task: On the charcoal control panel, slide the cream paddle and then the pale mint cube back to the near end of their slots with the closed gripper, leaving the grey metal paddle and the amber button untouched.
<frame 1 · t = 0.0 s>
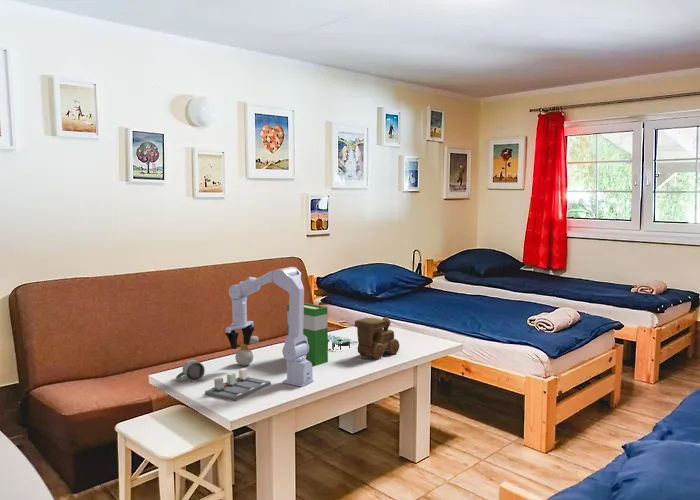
hand: (240, 346, 226), 10 cm above the table, tool pointing down, fingers open, 7 cm apart
paddle cream: (243, 374, 212), point 3 cm above the table, slide at 8.0 cm
pale mint cube: (231, 378, 206), point 3 cm above the table, slide at 8.0 cm
wooden toy train: (377, 355, 249), on the table
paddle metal: (218, 383, 201), point 3 cm above the table, slide at 8.0 cm
panel: (238, 389, 205), on the table
ceramic mug: (190, 380, 217), on the table
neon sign: (344, 343, 271), on the table
hardback book: (307, 360, 242), on the table
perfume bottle: (246, 364, 236), on the table
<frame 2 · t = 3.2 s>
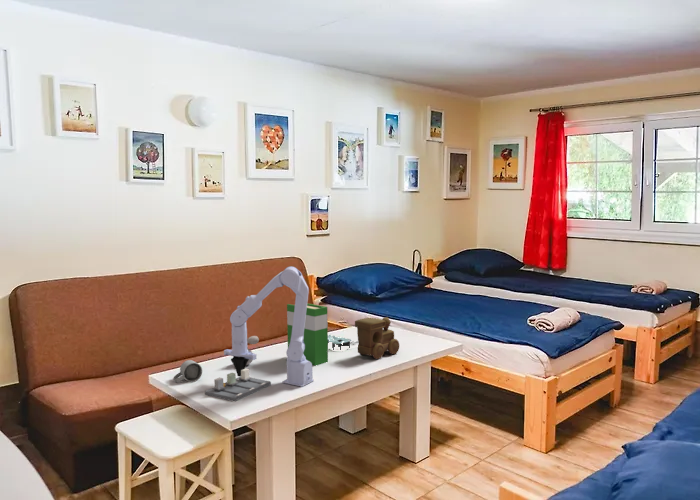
hand: (240, 375, 213), 3 cm above the table, tool pointing down, fingers closed
paddle cream: (245, 374, 211), point 3 cm above the table, slide at 7.0 cm, touching gripper
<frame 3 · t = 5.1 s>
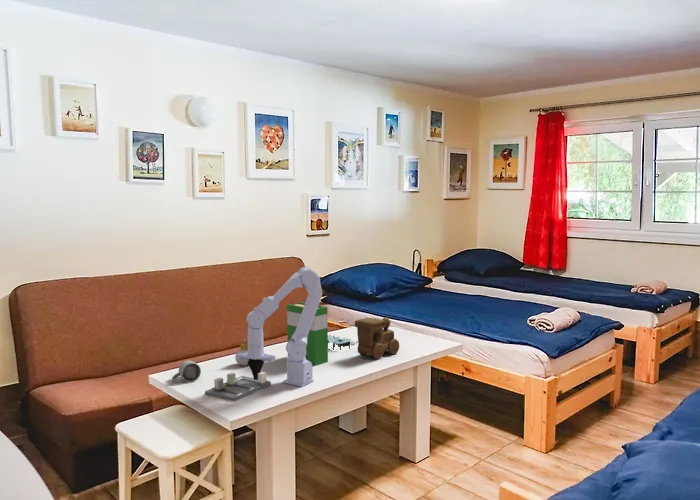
hand: (256, 378, 209), 3 cm above the table, tool pointing down, fingers closed
paddle cream: (262, 377, 207), point 3 cm above the table, slide at -1.3 cm, touching gripper
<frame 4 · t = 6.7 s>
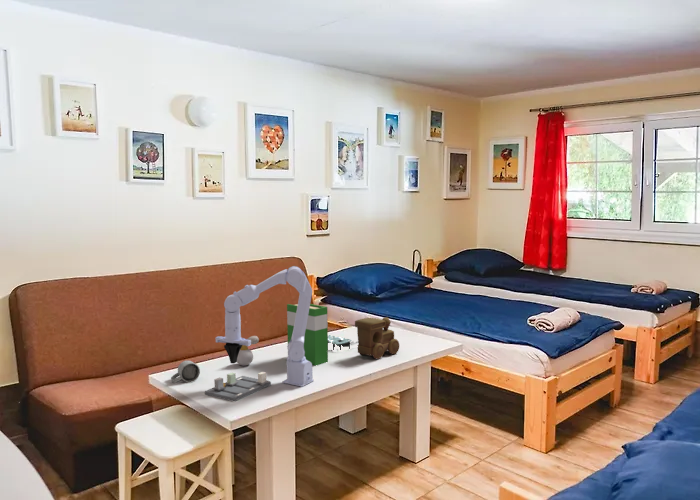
hand: (233, 362, 209), 9 cm above the table, tool pointing down, fingers closed
paddle cream: (262, 377, 207), point 3 cm above the table, slide at -1.3 cm
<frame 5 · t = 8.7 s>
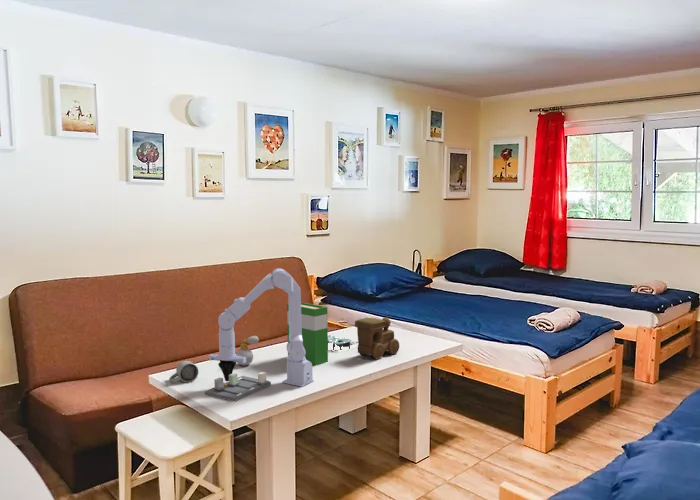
hand: (228, 380, 207), 3 cm above the table, tool pointing down, fingers closed
pale mint cube: (233, 379, 206), point 3 cm above the table, slide at 7.1 cm, touching gripper
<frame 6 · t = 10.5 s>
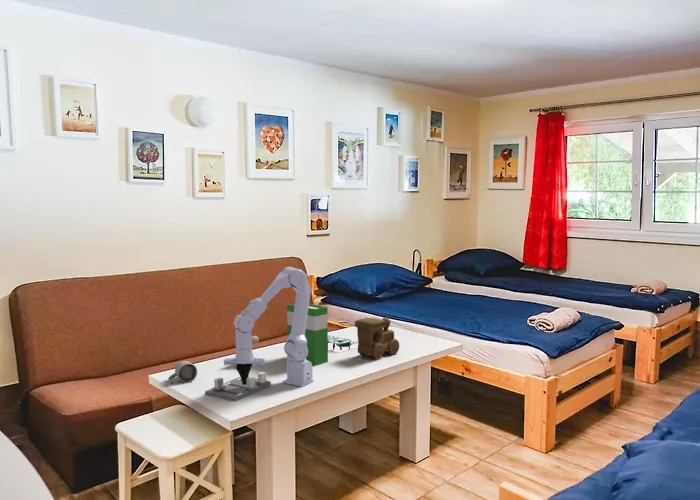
hand: (244, 383, 203), 3 cm above the table, tool pointing down, fingers closed
pale mint cube: (250, 382, 201), point 3 cm above the table, slide at -1.4 cm, touching gripper
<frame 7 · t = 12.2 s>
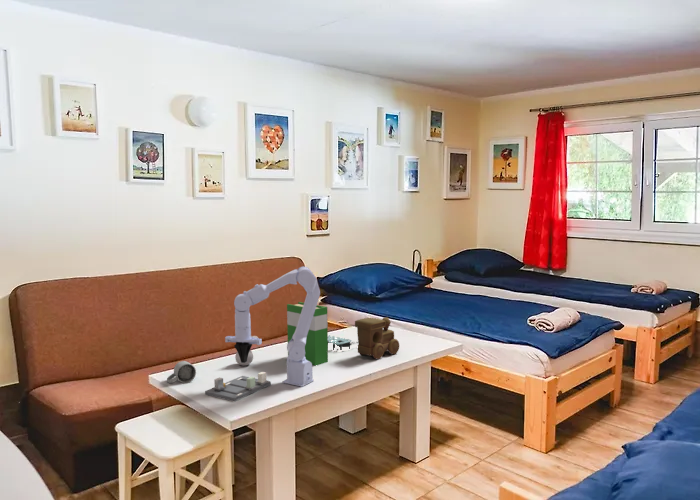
hand: (244, 361, 209), 9 cm above the table, tool pointing down, fingers closed
pale mint cube: (251, 382, 201), point 3 cm above the table, slide at -1.5 cm
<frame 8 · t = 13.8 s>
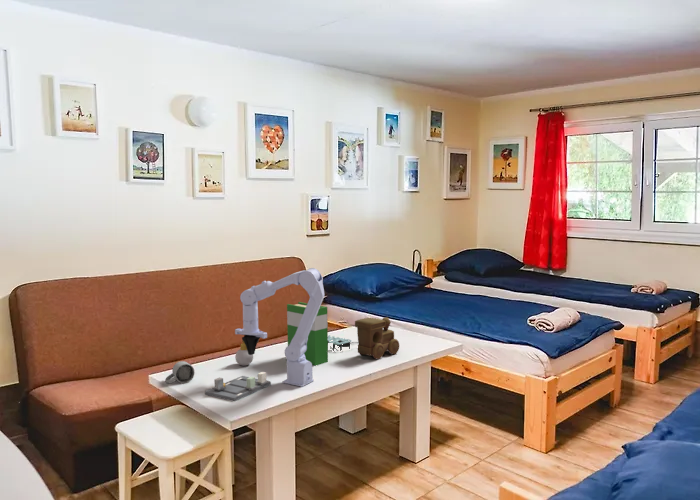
hand: (251, 354, 216), 10 cm above the table, tool pointing down, fingers closed
at the end: paddle cream slide at -1.3 cm; pale mint cube slide at -1.5 cm; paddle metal slide at 8.0 cm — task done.
